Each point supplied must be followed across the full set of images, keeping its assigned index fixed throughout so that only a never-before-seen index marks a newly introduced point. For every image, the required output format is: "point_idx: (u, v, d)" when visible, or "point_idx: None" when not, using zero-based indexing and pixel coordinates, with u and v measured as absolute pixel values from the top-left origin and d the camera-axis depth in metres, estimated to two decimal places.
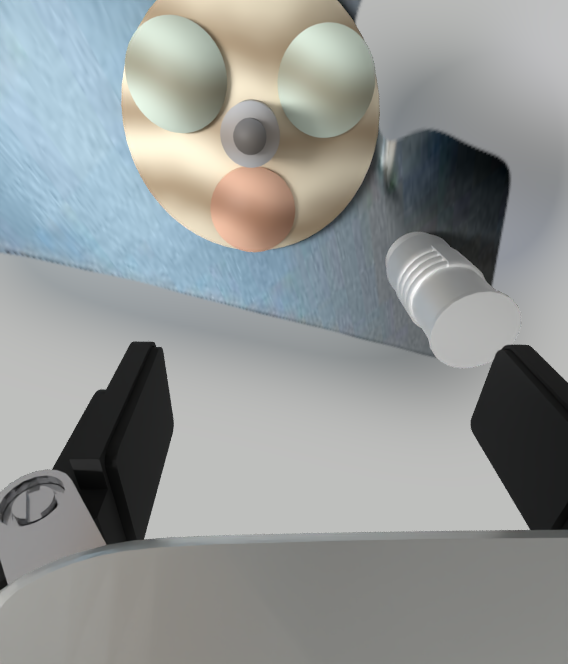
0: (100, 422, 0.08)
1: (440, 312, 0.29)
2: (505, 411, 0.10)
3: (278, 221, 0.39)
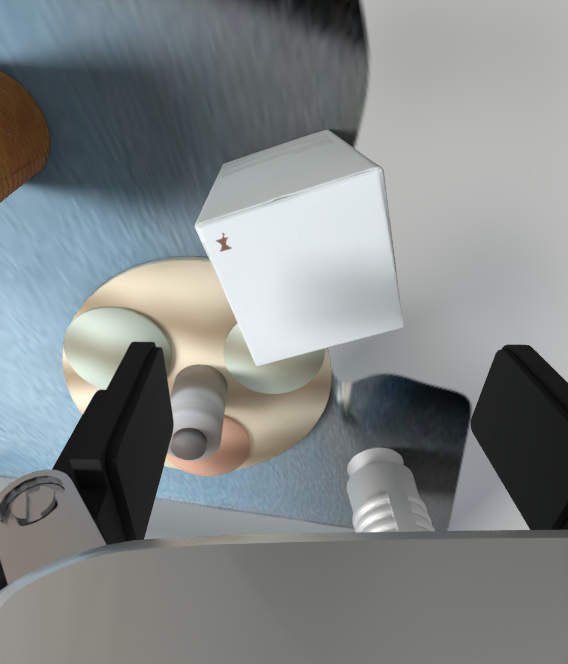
0: (100, 422, 0.08)
1: None
2: (505, 411, 0.10)
3: (233, 453, 0.38)
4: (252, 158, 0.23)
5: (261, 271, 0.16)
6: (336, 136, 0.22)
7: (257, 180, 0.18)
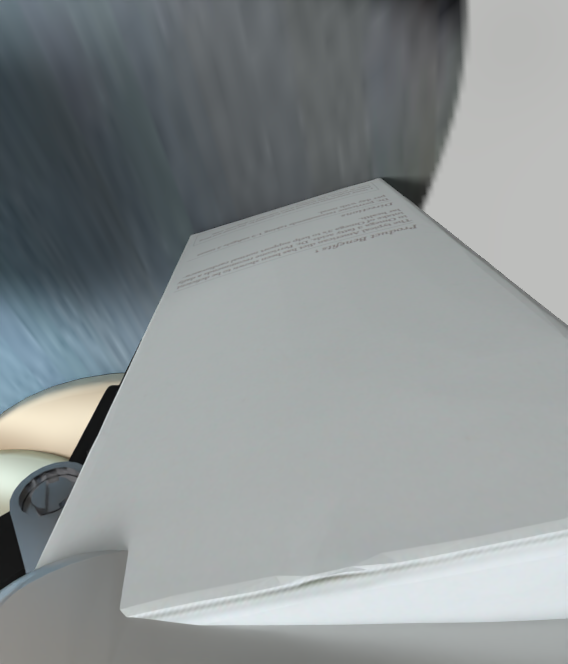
0: None
1: None
2: None
3: None
4: (241, 237, 0.12)
5: None
6: (412, 205, 0.11)
7: (245, 358, 0.07)
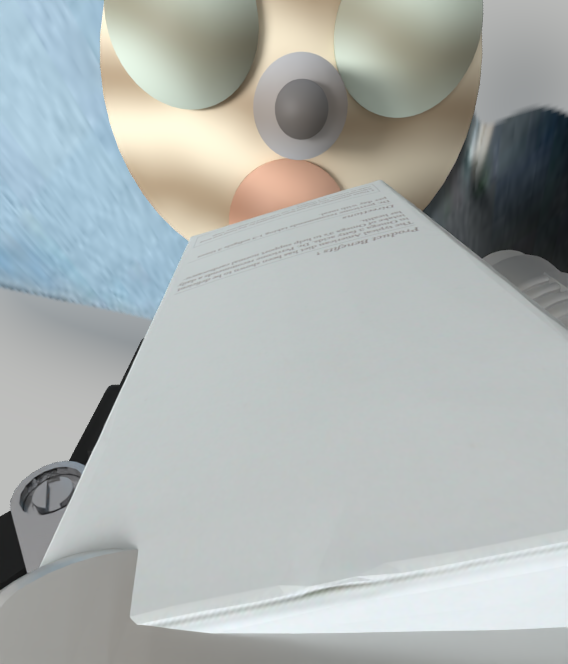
0: None
1: None
2: None
3: None
4: (242, 239, 0.12)
5: None
6: (413, 207, 0.11)
7: (247, 363, 0.07)
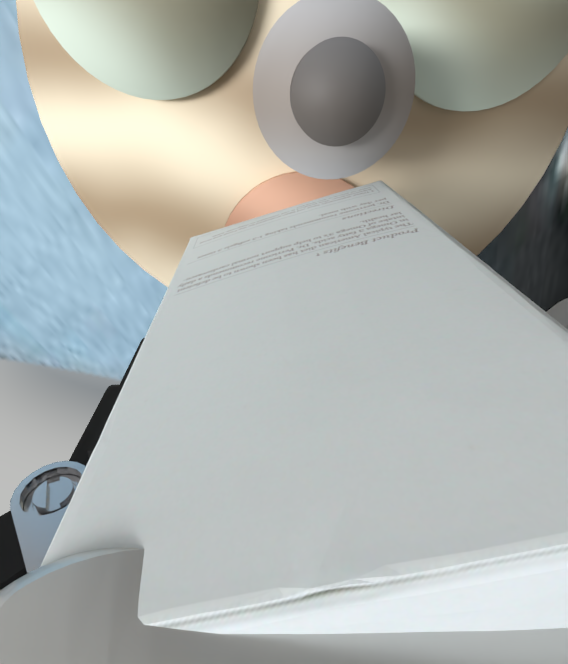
0: None
1: None
2: None
3: None
4: (242, 240, 0.12)
5: None
6: (413, 208, 0.11)
7: (247, 364, 0.07)
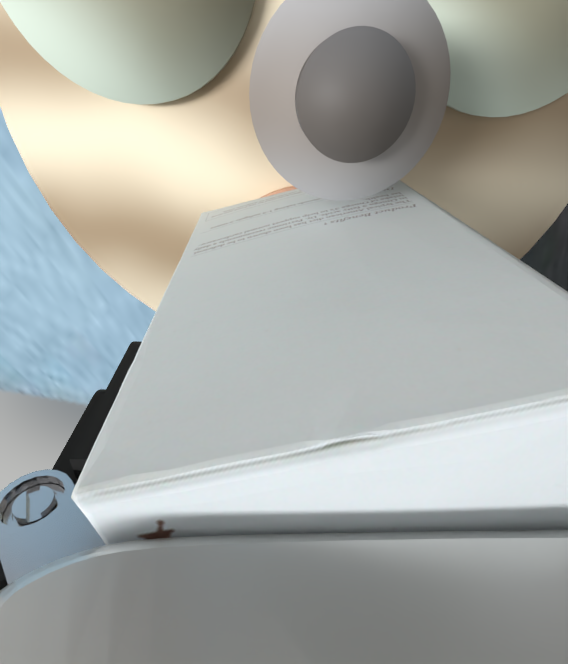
0: (100, 422, 0.08)
1: None
2: None
3: None
4: (252, 214, 0.13)
5: None
6: (411, 189, 0.12)
7: (266, 302, 0.08)
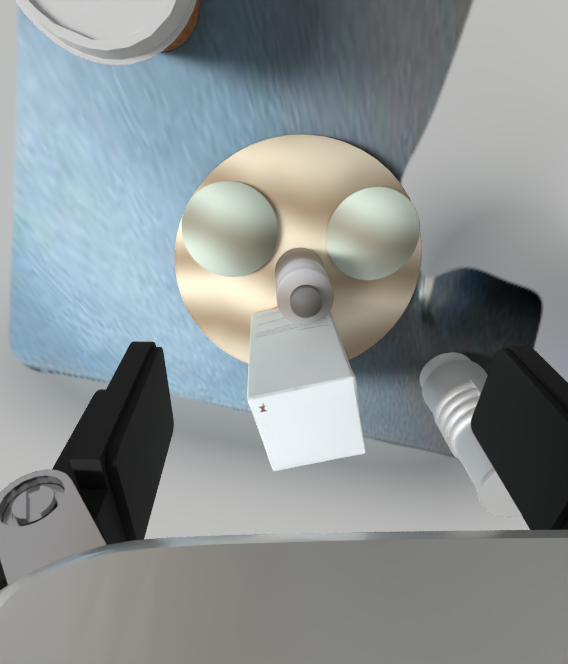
0: (100, 422, 0.08)
1: (490, 473, 0.30)
2: (505, 411, 0.10)
3: None
4: (273, 319, 0.35)
5: (282, 422, 0.27)
6: (330, 315, 0.34)
7: (281, 359, 0.29)
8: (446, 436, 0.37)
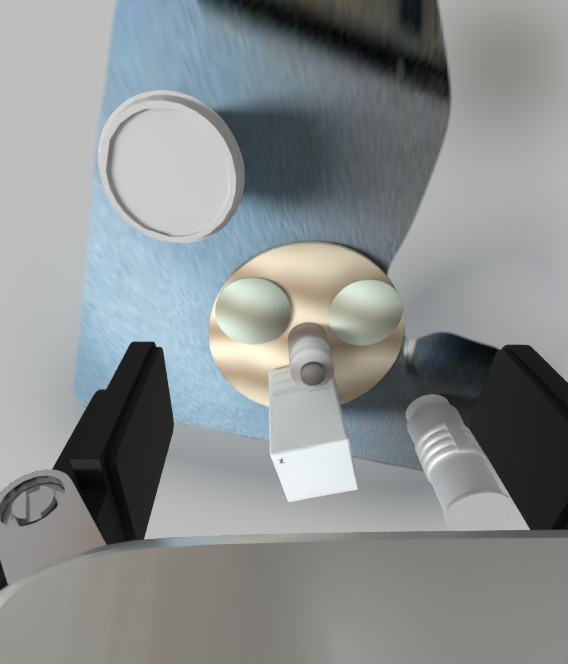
0: (100, 422, 0.08)
1: (452, 503, 0.40)
2: (505, 411, 0.10)
3: None
4: (287, 379, 0.44)
5: (295, 470, 0.37)
6: None
7: (294, 419, 0.39)
8: (423, 467, 0.47)
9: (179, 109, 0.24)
